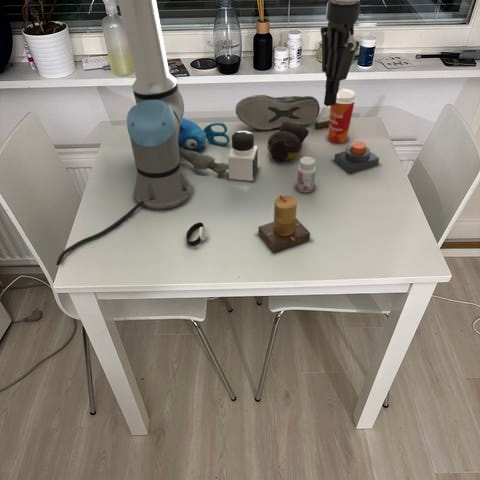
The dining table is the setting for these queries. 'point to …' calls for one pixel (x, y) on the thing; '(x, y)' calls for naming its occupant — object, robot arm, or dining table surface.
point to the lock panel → (283, 237)
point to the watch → (201, 234)
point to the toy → (190, 135)
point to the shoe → (277, 111)
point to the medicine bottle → (243, 156)
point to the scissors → (216, 133)
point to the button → (358, 148)
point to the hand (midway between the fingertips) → (329, 104)
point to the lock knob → (285, 215)
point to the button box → (356, 160)
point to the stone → (323, 118)
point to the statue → (202, 161)
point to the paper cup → (341, 115)
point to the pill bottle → (306, 174)
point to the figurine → (287, 141)
